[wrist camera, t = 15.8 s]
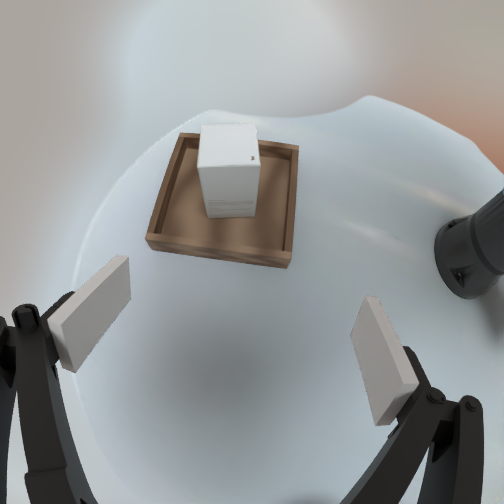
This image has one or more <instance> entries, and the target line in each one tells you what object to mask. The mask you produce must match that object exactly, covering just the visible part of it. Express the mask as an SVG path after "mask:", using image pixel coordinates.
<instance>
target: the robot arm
mask: <svg viewBox="0 0 504 504" xmlns="http://www.w3.org/2000/svg"><path fill="white" fill-rule="evenodd" d="M435 258H436V263H437V266H438V269H439V272H440V274H441V276H442V278H443V280H444V281H445V283H446V284H447V286H448V287H449V288H450V289H451V290H452V291H453V292H454V293H455V294H456V295H458V296H460V297H462V298H464V299H474V298H477V297H479V296H481V295H483V294H485V293H486V292H488V290H489V289H490V288H491V287H492V286H493V285H494V284H495V283H496V282H497V280H498V279H499V278H500V277H501V276H502V275H503V274H504V188H503V190H502V191H501V192H500V193H498V194H497V195H496V196H495V197H494V198H493V199H491V200H490V201H489V202H488V203H487V204H485V205H484V206H483V207H482V208H480V209H479V210H478V211H477V212H476V213H474V214H473V215H469V216H465V217H461V218H457V219H454V220H451V221H450V222H448V223H447V224H446V225H445V226H443V227H442V228H441V229H440V231H439V232H438V234H437V237H436V241H435ZM130 300H131V291H130V274H129V257H126V256H121V255H116V256H115V257H114V258H113V259H112V260H111V261H109V262H108V263H107V264H106V265H105V266H104V267H103V268H101V269H100V270H99V271H98V272H97V273H96V274H95V275H94V276H93V277H91V278H90V279H89V280H88V281H87V282H86V283H85V284H84V285H83V286H82V287H81V288H79V289H78V290H77V291H76V292H73V291H71V292H69V293H67V294H65V295H63V296H62V297H61V298H60V299H59V300H58V301H57V302H56V303H54V304H53V306H51V307H50V308H49V309H48V310H47V311H46V312H45V313H44V314H43V315H42V316H41V317H40V316H39V312H38V309H37V307H36V306H35V305H32V304H23V305H20V306H18V307H16V308H15V309H14V310H13V312H12V318H13V321H14V324H15V327H12V326H7V324H6V321H5V318H3V317H2V316H0V504H6V496H7V460H8V447H9V437H10V429H11V428H10V427H11V421H12V414H13V408H14V402H15V397H16V392H17V394H18V408H19V417H20V425H21V432H22V439H23V445H24V451H25V456H26V461H27V465H28V473H26V474H25V477H24V478H25V485H26V488H27V492H28V496H29V499H30V503H31V504H98V503H97V501H96V499H95V498H94V496H93V494H92V492H91V489H90V487H89V484H88V482H87V479H86V476H85V474H84V471H83V468H82V465H81V463H80V460H79V457H78V454H77V451H76V447H75V444H74V441H73V438H72V434H71V431H70V427H69V423H68V419H67V416H66V412H65V407H64V403H63V398H62V394H61V389H60V384H59V378H58V373H57V368H56V365H55V363H56V362H57V361H58V360H60V362H61V365H62V368H64V369H66V370H69V371H71V372H73V373H76V372H77V370H78V369H79V368H80V366H81V365H82V363H83V362H84V361H85V359H86V358H87V356H88V355H89V354H90V352H91V351H92V350H93V348H94V347H95V346H96V344H97V343H98V341H99V340H100V339H101V337H102V336H103V335H104V333H105V332H106V331H107V329H108V328H109V327H110V325H111V324H112V323H113V322H114V320H115V319H116V318H117V316H118V315H119V314H120V312H121V311H122V310H123V309H124V307H125V306H126V305H127V303H128V302H129V301H130ZM350 336H351V339H352V342H353V346H354V349H355V352H356V356H357V359H358V363H359V366H360V370H361V374H362V377H363V381H364V385H365V388H366V392H367V396H368V400H369V404H370V408H371V412H372V416H373V420H374V424H375V426H381V425H390V424H391V423H392V422H393V420H394V419H395V418H397V421H398V425H397V426H396V427H395V428H394V430H393V431H392V432H391V433H390V435H389V436H388V440H387V441H386V443H385V444H384V446H383V447H382V449H381V450H380V452H379V453H378V455H377V456H376V457H375V459H374V460H373V462H372V463H371V464H370V466H369V467H368V469H367V470H366V471H365V473H364V474H363V475H362V477H361V478H360V479H359V480H358V482H357V483H356V484H355V486H354V487H353V488H352V489H351V491H350V492H349V493H348V494H347V495H346V497H345V498H344V499H343V500H342V501H341V502H340V504H398V503H399V501H400V500H401V498H402V496H403V495H404V493H405V491H406V490H407V488H408V486H409V484H410V483H411V481H412V479H413V477H414V475H415V473H416V472H417V470H418V468H419V466H420V464H421V462H422V460H423V458H424V456H425V454H426V451H427V449H428V447H429V451H428V457H427V463H426V468H425V473H424V477H423V482H422V486H421V490H420V494H419V498H418V502H417V504H481V496H482V485H483V468H484V425H483V408H482V405H481V403H480V402H479V400H478V399H476V398H475V397H473V396H469V395H466V396H463V397H462V398H461V400H460V401H459V402H453V401H449V400H446V397H445V395H444V394H443V393H442V392H441V391H440V390H438V389H436V388H434V387H431V385H430V383H429V381H428V379H427V377H426V375H425V372H424V370H423V368H421V367H422V366H421V364H420V362H419V360H418V358H417V356H416V354H415V353H414V352H413V351H412V350H411V349H410V348H409V347H408V346H402V344H401V342H400V340H399V338H398V336H397V334H396V332H395V330H394V328H393V326H392V324H391V322H390V320H389V318H388V316H387V314H386V312H385V311H384V309H383V307H382V305H381V303H380V301H379V299H378V297H373V296H365V297H364V300H363V303H362V306H361V309H360V311H359V314H358V317H357V319H356V322H355V325H354V327H353V330H352V332H351V335H350Z"/></svg>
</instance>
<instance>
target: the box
mask: <svg viewBox="0 0 504 504" xmlns="http://www.w3.org/2000/svg"><path fill="white" fill-rule="evenodd" d="M199 142H200V134H195V133H180V134H179V137H178V140H177V142H176V145H175V148H174V150H173V153H172V156H171V159H170V161H169V164H168V167H167V170H166V173H165V176H164V179H163V182H162V185H161V188H160V191H159V194H158V197H157V200H156V203H155V207H154V210H153V213H152V216H151V220H150V223H149V227H148V230H147V234H146V237H145V240H146V241H147V243H148V244H149V246H150V247H151V249H152V250H156V251H163V252H170V253H176V254H183V255H190V256H197V257H204V258H211V259H218V260H226V261H233V262H240V263H247V264H254V265H262V266H269V267H276V268H284V269H287V267H288V265H289V263H290V261H291V257H292V244H293V232H294V218H295V204H296V188H297V171H298V152H299V146H297V145H291V144H285V143H278V142H271V141H264V140H258V145H259V154H260V163H261V168H260V176H259V185H258V194H257V202H256V212H255V217H230V218H208V217H207V213H206V208H205V204H204V199H203V194H202V188H201V183H200V177H199V173H198V169H197V161H198V151H199Z"/></svg>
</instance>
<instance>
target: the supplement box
mask: <svg viewBox="0 0 504 504" xmlns="http://www.w3.org/2000/svg"><path fill="white" fill-rule="evenodd" d="M260 168H261V163H260V154H259V145H258V137H257V129H256V123H237V124H207V125H201V132H200V142H199V151H198V161H197V169H198V173H199V177H200V183H201V188H202V194H203V199H204V204H205V208H206V213H207V217H208V218H230V217H255V212H256V202H257V194H258V185H259V176H260Z"/></svg>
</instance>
